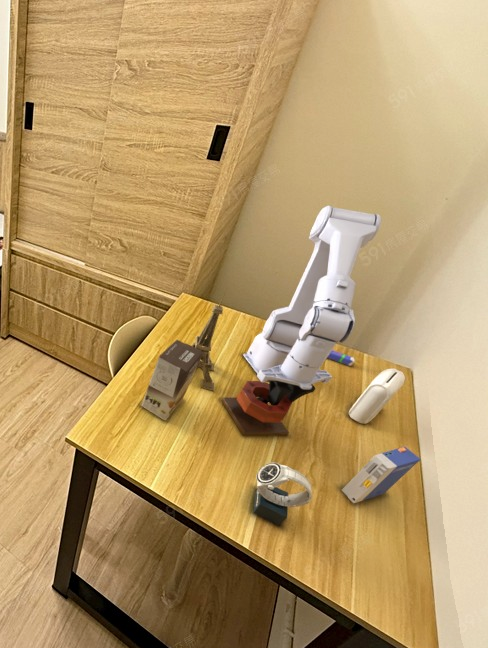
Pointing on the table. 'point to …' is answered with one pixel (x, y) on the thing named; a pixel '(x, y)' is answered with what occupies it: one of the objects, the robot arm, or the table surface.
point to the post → (252, 420)
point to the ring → (259, 408)
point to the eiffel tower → (207, 347)
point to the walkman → (380, 474)
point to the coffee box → (171, 378)
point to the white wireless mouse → (377, 395)
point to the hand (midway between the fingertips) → (277, 402)
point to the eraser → (341, 358)
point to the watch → (278, 492)
